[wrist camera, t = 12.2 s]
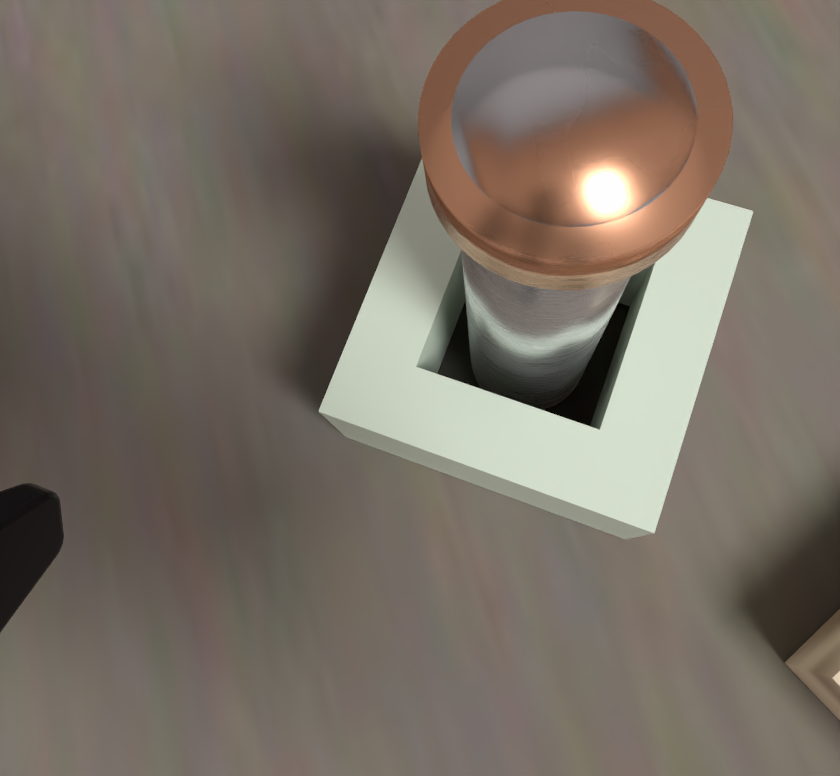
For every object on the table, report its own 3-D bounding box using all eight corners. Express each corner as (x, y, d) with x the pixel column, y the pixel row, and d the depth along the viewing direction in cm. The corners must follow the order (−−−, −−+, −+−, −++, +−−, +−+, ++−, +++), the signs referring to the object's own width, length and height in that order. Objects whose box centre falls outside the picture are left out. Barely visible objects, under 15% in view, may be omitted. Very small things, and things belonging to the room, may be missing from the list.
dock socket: (625, 539, 22) (654, 533, 18) (346, 436, 24) (318, 411, 20) (710, 269, 24) (753, 211, 20) (444, 189, 25) (437, 121, 21)
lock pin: (511, 456, 23) (539, 321, 10) (426, 340, 24) (359, 91, 12) (631, 371, 23) (800, 140, 11) (542, 260, 24) (601, -68, 12)
